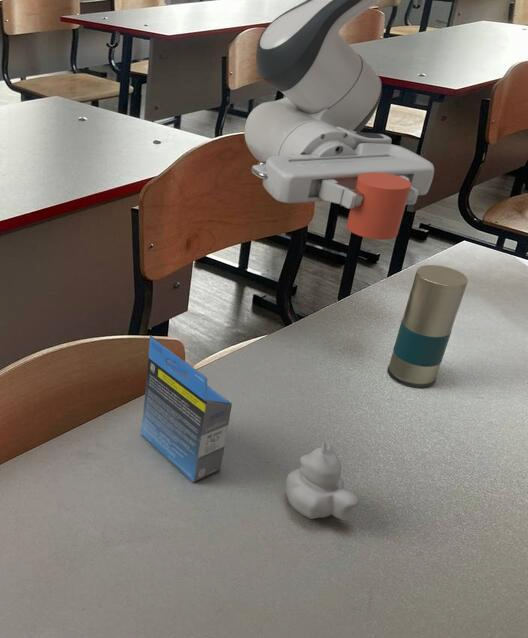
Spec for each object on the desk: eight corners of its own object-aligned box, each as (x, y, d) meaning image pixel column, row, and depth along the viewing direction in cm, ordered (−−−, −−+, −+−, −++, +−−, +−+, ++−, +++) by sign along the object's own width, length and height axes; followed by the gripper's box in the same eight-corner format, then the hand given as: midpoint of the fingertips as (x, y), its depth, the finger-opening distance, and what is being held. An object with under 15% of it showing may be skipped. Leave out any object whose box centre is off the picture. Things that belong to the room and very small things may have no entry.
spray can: (421, 363, 93) (452, 264, 87) (443, 387, 89) (478, 285, 82) (379, 363, 93) (407, 264, 86) (399, 388, 89) (431, 286, 82)
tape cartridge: (223, 471, 75) (241, 367, 69) (192, 484, 74) (208, 379, 67) (167, 423, 82) (179, 324, 76) (138, 434, 80) (148, 334, 74)
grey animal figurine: (300, 480, 74) (316, 415, 70) (363, 517, 70) (384, 450, 66) (269, 506, 71) (284, 439, 67) (333, 546, 67) (353, 477, 63)
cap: (384, 220, 90) (397, 172, 87) (406, 239, 85) (420, 189, 82) (338, 220, 90) (349, 171, 87) (358, 239, 85) (370, 189, 82)
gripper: (249, 140, 93) (306, 177, 81) (396, 133, 97) (471, 168, 85) (241, 189, 96) (295, 232, 84) (384, 181, 100) (454, 220, 89)
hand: (385, 200), depth 85 cm, fingers closed on cap, 5 cm apart
